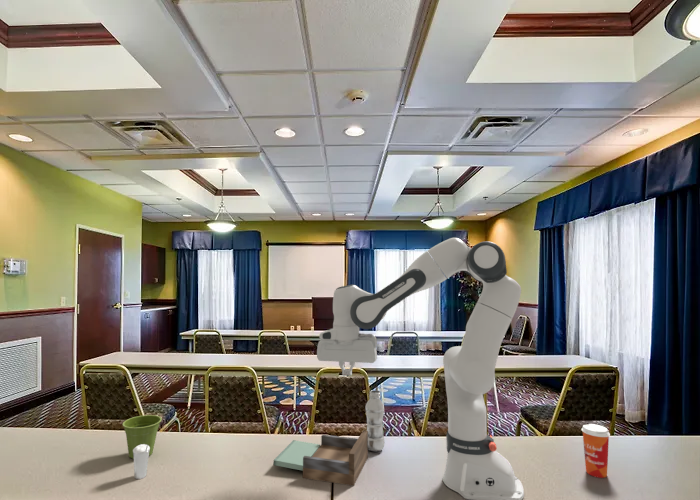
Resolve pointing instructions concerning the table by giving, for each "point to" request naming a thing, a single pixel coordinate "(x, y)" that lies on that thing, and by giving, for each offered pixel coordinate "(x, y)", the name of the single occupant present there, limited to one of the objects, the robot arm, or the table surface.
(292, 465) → the panel
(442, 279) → the robot arm
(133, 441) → the plant pot
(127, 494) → the table surface
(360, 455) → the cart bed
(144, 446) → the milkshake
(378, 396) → the plastic bottle
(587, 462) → the paper cup
